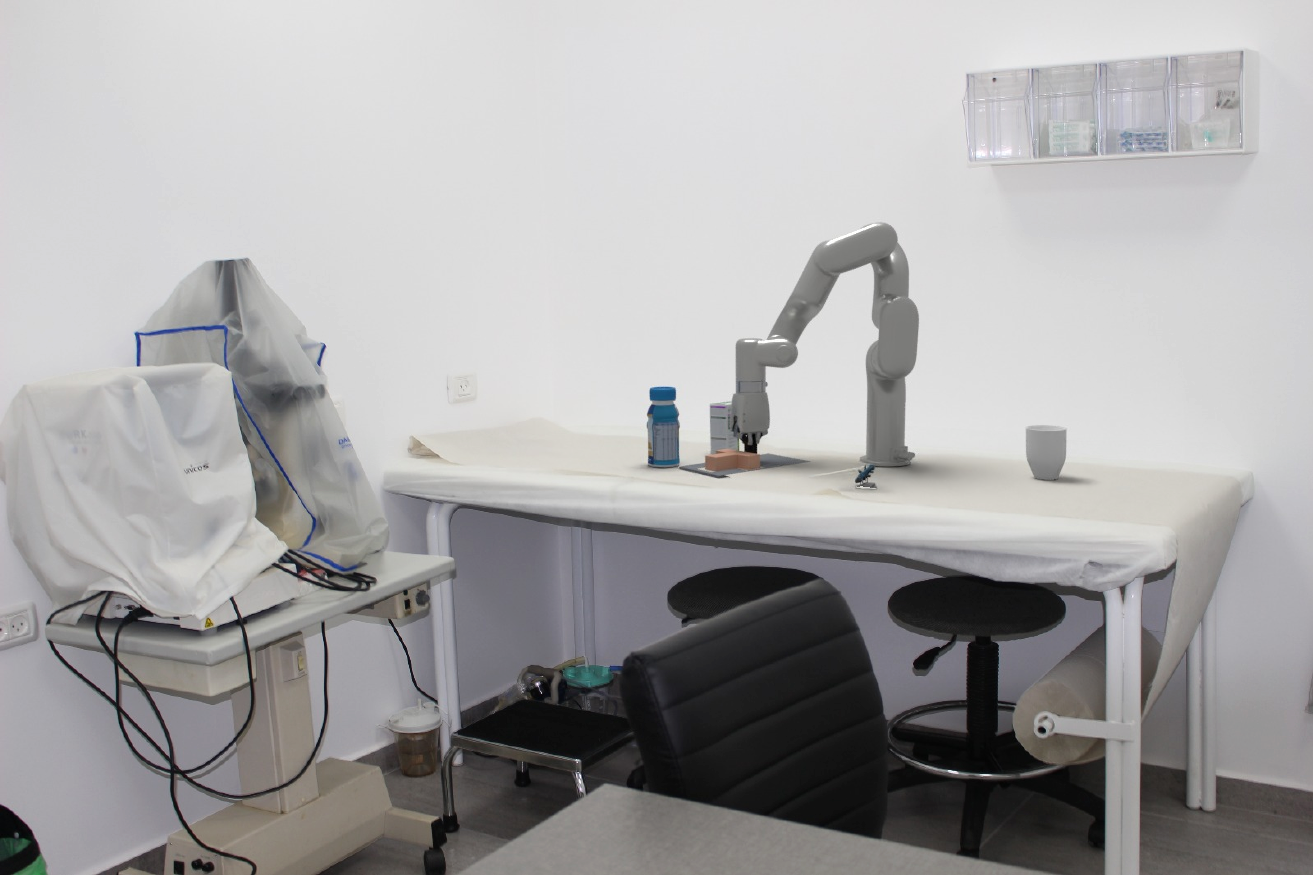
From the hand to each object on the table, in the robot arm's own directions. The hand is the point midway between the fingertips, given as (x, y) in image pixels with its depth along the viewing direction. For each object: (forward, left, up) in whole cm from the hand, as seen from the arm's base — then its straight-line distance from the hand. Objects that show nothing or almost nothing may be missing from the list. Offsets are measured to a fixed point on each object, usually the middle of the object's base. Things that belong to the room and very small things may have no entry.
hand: (750, 459), depth 258 cm
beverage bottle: (+15, +17, -2) cm, 22 cm away
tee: (-1, +8, -1) cm, 8 cm away
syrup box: (+16, -4, -2) cm, 16 cm away
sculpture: (-38, -1, -2) cm, 38 cm away
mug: (-55, -42, -2) cm, 70 cm away
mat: (0, +2, -2) cm, 2 cm away
